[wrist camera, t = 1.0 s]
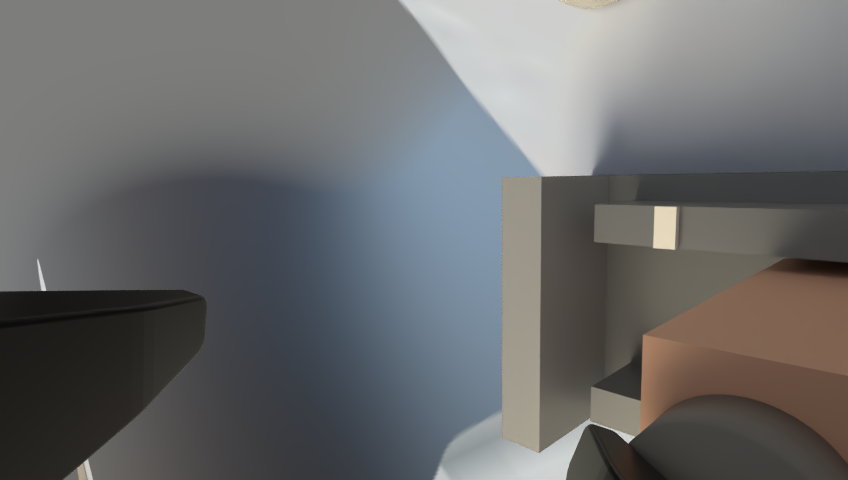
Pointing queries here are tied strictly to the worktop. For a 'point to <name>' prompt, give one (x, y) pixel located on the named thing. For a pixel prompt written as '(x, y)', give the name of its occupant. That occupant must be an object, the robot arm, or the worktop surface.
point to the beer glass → (588, 3)
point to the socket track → (634, 277)
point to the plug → (752, 380)
